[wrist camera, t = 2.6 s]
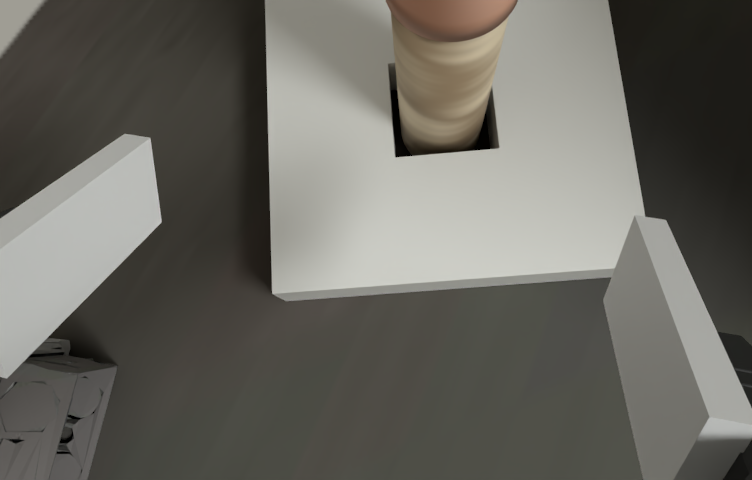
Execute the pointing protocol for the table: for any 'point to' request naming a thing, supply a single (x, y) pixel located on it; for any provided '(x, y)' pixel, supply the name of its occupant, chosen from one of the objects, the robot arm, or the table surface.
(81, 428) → the electrical switch
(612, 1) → the table surface
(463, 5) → the plug
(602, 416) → the table surface
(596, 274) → the socket block
